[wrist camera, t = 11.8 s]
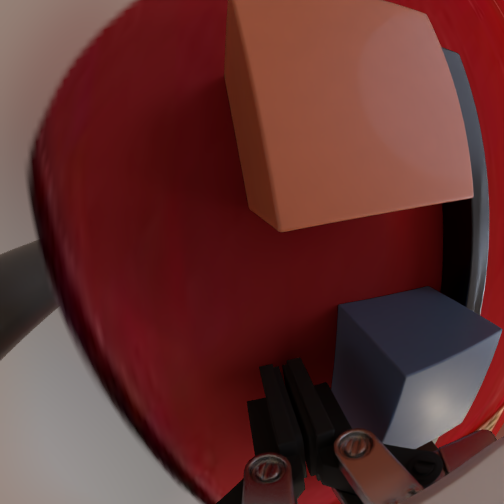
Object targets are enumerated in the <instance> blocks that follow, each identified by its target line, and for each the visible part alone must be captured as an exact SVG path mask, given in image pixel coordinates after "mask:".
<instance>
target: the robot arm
mask: <svg viewBox="0 0 504 504" xmlns="http://www.w3.org/2000/svg"><path fill="white" fill-rule="evenodd" d="M282 368H283V374H284V381H285V384H284V381H283V378H282V375H281V372H280V369H279V366H277V367H273V364H270V365H265V366H261V367H259V369H260V373H261V378H262V382H263V387H264V391H265V396H266V398H262V399H257V400H252V401H247V407H248V413H249V420H250V426H251V433H252V439H253V445H254V451H255V456H254V457H253V458H252V459H250V460H249V461H248V463H247V464H246V466H245V470H244V478H243V479H242V480H241V481H240V482H239V483H238V484H237V485H236V486H235V487H234V488H233V489H232V490H231V491H230V492H229V493H228V494H226V495H225V496H224V497H223V498H222V499H221V500H220V501H218V502H217V503H216V504H298V502H297V498H298V497H299V496H300V495H301V494H302V492H303V491H304V490H305V483H304V478H306V477H307V473H306V464H307V467H308V470H309V473H310V475H311V476H314V475H316V477H317V480H318V481H320V480H321V482H322V484H323V485H326V486H329V487H331V488H332V490H333V492H334V494H335V495H336V497H337V498H338V500H339V501H340V503H341V504H504V437H502V438H500V439H498V440H497V439H496V437H495V435H494V434H493V433H492V432H491V431H489V430H479V431H476V432H474V433H472V434H470V435H468V436H466V437H463V438H461V439H459V440H457V441H454V442H452V443H450V444H447V445H445V446H442V447H439V449H438V450H436V451H434V452H431V451H425V450H418V449H411V448H404V447H398V446H393V445H387V444H383V443H382V442H381V441H380V440H379V439H378V438H377V437H376V436H375V435H374V434H373V433H372V432H371V431H369V430H366V429H361V428H356V429H352V428H351V426H350V424H349V422H348V420H347V418H346V417H345V415H344V413H343V411H342V409H341V407H340V405H339V404H338V402H337V400H336V398H335V396H334V394H333V393H332V391H331V389H330V387H329V385H328V384H327V383H326V382H325V383H322V384H318V385H315V386H314V385H313V383H312V381H311V379H310V377H309V375H308V372H307V370H306V368H305V366H304V364H303V362H302V360H301V358H300V357H299V358H295V359H291V360H287V364H285V365H282ZM305 461H306V462H305Z"/></svg>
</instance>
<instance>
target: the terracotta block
mask: <svg viewBox="0 0 504 504" xmlns="http://www.w3.org/2000/svg"><path fill="white" fill-rule="evenodd" d="M224 78H225V83H226V88H227V94H228V99H229V104H230V109H231V115H232V120H233V125H234V131H235V136H236V141H237V147H238V152H239V157H240V163H241V168H242V174H243V179H244V184H245V190H246V195H247V201H248V206H249V209H250V210H251V211H253V212H254V213H255V214H257V215H258V216H259V217H261V218H262V219H263V220H264V221H266V222H267V223H268V224H270V225H271V226H272V227H274V228H275V229H276V230H277V231H279V232H287V231H292V230H297V229H302V228H307V227H313V226H318V225H323V224H329V223H334V222H339V221H345V220H350V219H355V218H361V217H366V216H372V215H377V214H383V213H389V212H394V211H400V210H406V209H411V208H417V207H423V206H429V205H434V204H440V203H446V202H452V201H458V200H464V199H470V198H473V181H472V171H471V162H470V155H469V148H468V142H467V136H466V131H465V126H464V121H463V117H462V112H461V108H460V104H459V100H458V96H457V93H456V89H455V86H454V83H453V79H452V76H451V73H450V70H449V67H448V64H447V61H446V59H445V56H444V53H443V51H442V48H441V46H440V43H439V41H438V38H437V36H436V34H435V32H434V29H433V27H432V25H431V23H430V21H429V19H428V17H427V15H426V14H424V13H422V12H419V11H416V10H413V9H410V8H407V7H404V6H401V5H397V4H394V3H390V2H387V1H383V0H228V9H227V25H226V44H225V67H224Z"/></svg>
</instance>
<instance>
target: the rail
mask: <svg viewBox="0 0 504 504" xmlns="http://www.w3.org/2000/svg"><path fill="white" fill-rule="evenodd" d="M441 48H442V47H441ZM442 51H443V53H444V56H445V59H446V61H447V64H448V67H449V70H450V73H451V76H452V79H453V83H454V86H455V89H456V93H457V96H458V100H459V104H460V108H461V112H462V117H463V121H464V126H465V131H466V136H467V142H468V148H469V155H470V162H471V171H472V181H473V198H470V199H464V200H458V201H452V202H446V203H442V204H443V229H444V250H443V275H442V289H441V293H442V294H444V295H446V296H447V297H449V298H451V299H453V300H454V301H456V302H458V303H460V304H461V305H463V306H465V307H466V308H468V309H470V310H472V311H473V312H475V313H477V314H478V315H480V312H481V307H482V301H483V295H484V288H485V280H486V271H487V260H488V245H489V195H488V181H487V170H486V161H485V154H484V147H483V141H482V135H481V130H480V125H479V120H478V115H477V111H476V107H475V103H474V99H473V95H472V92H471V88H470V85H469V82H468V79H467V76H466V72H465V70H464V67H463V64H462V61H461V58H460V56H459V54H458V53H456V52H453V51H451V50H448V49H445V48H442ZM437 439H438V437H437V438H435V439H433V440H432V442H433V443H434V444H435V443H436V441H437Z"/></svg>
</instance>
